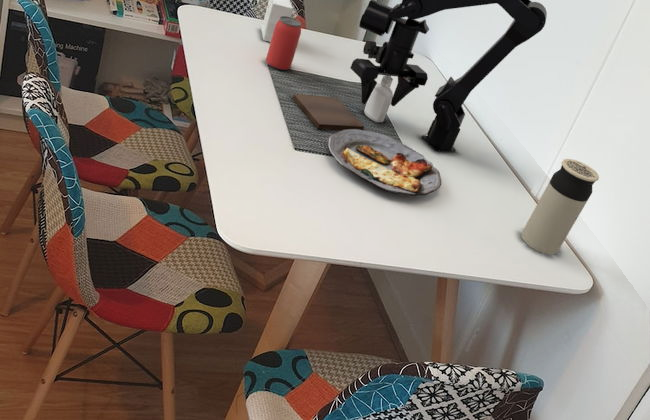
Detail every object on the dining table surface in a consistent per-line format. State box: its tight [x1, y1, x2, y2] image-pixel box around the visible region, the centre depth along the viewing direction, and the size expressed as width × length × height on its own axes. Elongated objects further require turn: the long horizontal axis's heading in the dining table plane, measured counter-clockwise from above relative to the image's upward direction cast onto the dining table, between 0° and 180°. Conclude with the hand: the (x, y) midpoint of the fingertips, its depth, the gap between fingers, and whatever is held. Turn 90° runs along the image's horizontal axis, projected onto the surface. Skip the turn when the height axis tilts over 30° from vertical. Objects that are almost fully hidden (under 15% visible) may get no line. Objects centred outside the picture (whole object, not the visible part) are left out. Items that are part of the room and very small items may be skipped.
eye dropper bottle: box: [363, 75, 394, 123], centre depth 175 cm, size 4×6×12 cm
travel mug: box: [520, 158, 600, 255], centre depth 145 cm, size 8×8×18 cm
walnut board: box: [292, 93, 365, 131], centre depth 171 cm, size 14×12×1 cm
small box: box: [260, 0, 294, 43], centre depth 200 cm, size 8×6×10 cm
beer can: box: [265, 16, 302, 71], centre depth 184 cm, size 7×7×12 cm
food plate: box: [328, 129, 443, 197], centre depth 155 cm, size 25×23×4 cm
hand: (378, 104), depth 176 cm, fingers closed on eye dropper bottle, 8 cm apart
